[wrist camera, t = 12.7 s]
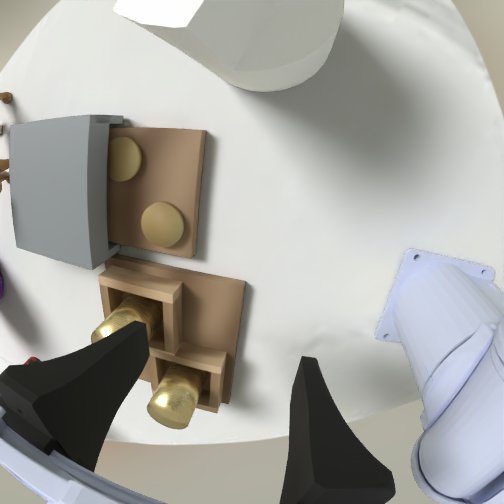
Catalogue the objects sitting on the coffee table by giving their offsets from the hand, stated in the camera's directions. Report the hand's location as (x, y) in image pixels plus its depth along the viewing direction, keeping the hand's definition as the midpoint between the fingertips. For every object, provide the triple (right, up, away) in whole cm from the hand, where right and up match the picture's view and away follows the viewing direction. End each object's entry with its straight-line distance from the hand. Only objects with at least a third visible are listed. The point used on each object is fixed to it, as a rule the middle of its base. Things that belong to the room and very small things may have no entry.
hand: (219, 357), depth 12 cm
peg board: (-6, -3, +13) cm, 14 cm away
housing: (-13, +11, +9) cm, 19 cm away
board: (-6, +9, +8) cm, 14 cm away
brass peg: (-4, -6, +13) cm, 15 cm away
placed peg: (-7, 0, +11) cm, 13 cm away
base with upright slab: (+2, +19, +3) cm, 20 cm away
